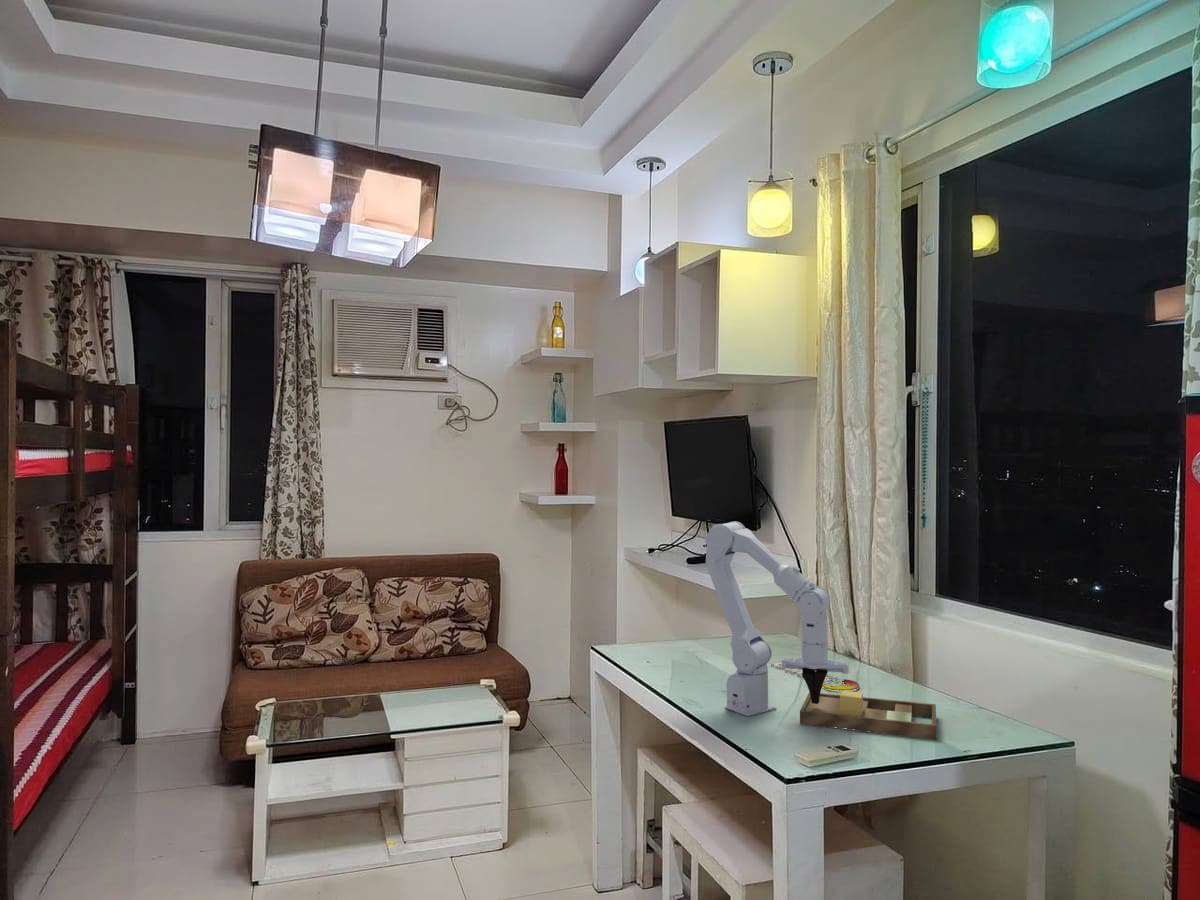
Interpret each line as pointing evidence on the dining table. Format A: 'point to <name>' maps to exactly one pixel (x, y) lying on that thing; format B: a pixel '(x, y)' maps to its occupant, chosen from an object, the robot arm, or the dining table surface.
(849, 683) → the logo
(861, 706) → the block
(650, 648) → the dining table surface
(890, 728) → the tray
